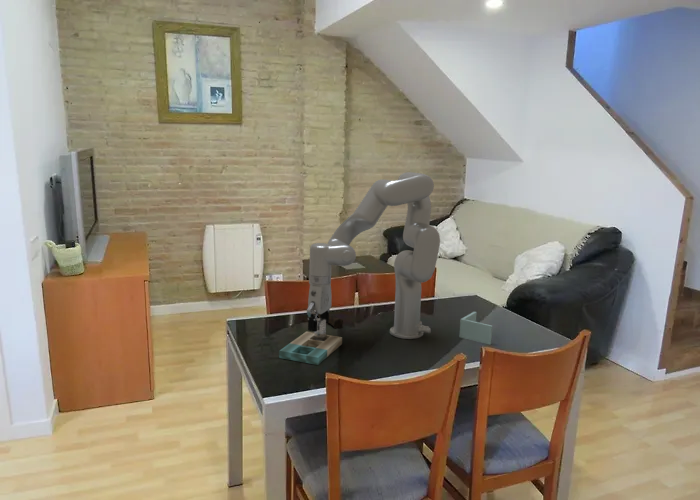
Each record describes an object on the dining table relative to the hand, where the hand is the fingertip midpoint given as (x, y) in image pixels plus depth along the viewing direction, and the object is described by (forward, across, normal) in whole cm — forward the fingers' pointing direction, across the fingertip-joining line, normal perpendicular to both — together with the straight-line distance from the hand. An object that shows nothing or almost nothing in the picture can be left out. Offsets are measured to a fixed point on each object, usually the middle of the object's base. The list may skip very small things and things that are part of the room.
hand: (318, 326), depth 184 cm
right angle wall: (+6, +33, -52) cm, 62 cm away
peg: (+7, 0, 0) cm, 7 cm away
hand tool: (+7, +24, +8) cm, 26 cm away
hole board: (+7, -6, 0) cm, 9 cm away
